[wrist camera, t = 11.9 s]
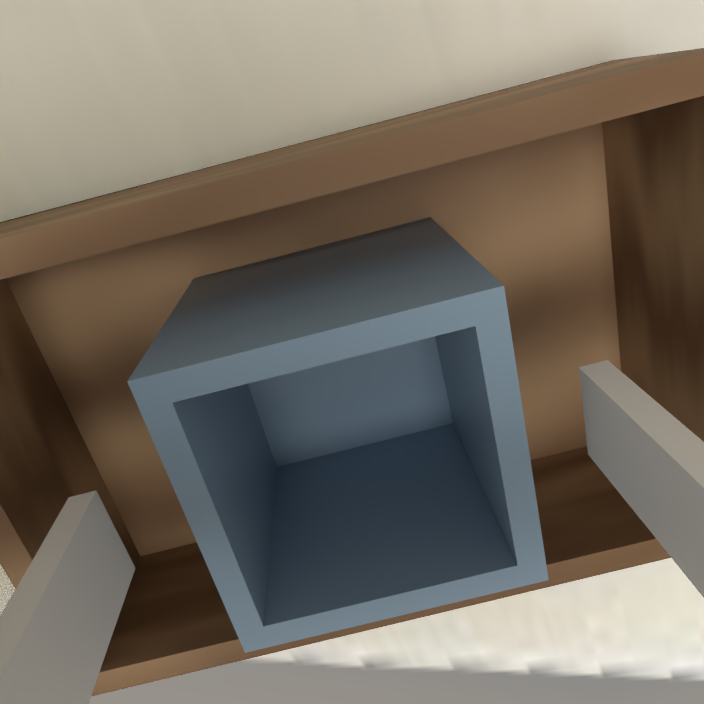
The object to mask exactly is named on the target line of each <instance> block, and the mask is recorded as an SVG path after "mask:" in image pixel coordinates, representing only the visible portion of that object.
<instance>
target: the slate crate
mask: <svg viewBox="0 0 704 704" xmlns="http://www.w3.org/2000/svg"><path fill="white" fill-rule="evenodd" d="M127 382H128V385H129V387H130V389H131V391H132V394H133V396H134V398H135V401H136V403H137V405H138V408H139V410H140V412H141V415H142V417H143V419H144V421H145V424H146V426H147V428H148V431H149V433H150V435H151V438H152V440H153V442H154V444H155V447H156V449H157V451H158V454H159V456H160V458H161V461H162V463H163V465H164V468H165V470H166V472H167V474H168V477H169V479H170V481H171V484H172V486H173V488H174V491H175V493H176V495H177V498H178V500H179V502H180V504H181V507H182V509H183V511H184V514H185V516H186V518H187V521H188V523H189V525H190V527H191V530H192V532H193V534H194V537H195V539H196V541H197V544H198V546H199V548H200V551H201V553H202V555H203V557H204V560H205V562H206V564H207V567H208V569H209V571H210V574H211V576H212V578H213V580H214V583H215V585H216V587H217V590H218V592H219V594H220V597H221V599H222V601H223V604H224V606H225V608H226V610H227V613H228V615H229V617H230V620H231V622H232V624H233V627H234V629H235V631H236V634H237V636H238V638H239V640H240V643H241V645H242V647H243V650H244V652H245V653H247V652H251V651H255V650H259V649H263V648H267V647H272V646H276V645H280V644H284V643H288V642H293V641H297V640H301V639H305V638H309V637H313V636H318V635H322V634H326V633H330V632H334V631H338V630H343V629H347V628H351V627H355V626H359V625H363V624H368V623H372V622H376V621H380V620H384V619H389V618H393V617H397V616H401V615H405V614H409V613H414V612H418V611H422V610H426V609H430V608H434V607H439V606H443V605H447V604H451V603H455V602H459V601H464V600H468V599H472V598H476V597H480V596H485V595H489V594H493V593H497V592H501V591H505V590H510V589H514V588H518V587H522V586H526V585H530V584H535V583H539V582H543V581H547V580H549V579H548V572H547V565H546V559H545V552H544V546H543V539H542V533H541V526H540V519H539V513H538V506H537V500H536V493H535V486H534V480H533V473H532V467H531V460H530V453H529V447H528V440H527V434H526V427H525V421H524V414H523V407H522V401H521V394H520V388H519V381H518V374H517V368H516V361H515V355H514V348H513V342H512V335H511V328H510V322H509V315H508V309H507V302H506V295H505V289H504V285H503V284H502V283H501V282H500V281H498V280H497V279H496V278H495V277H494V276H493V275H492V274H491V273H490V272H489V271H488V270H487V269H486V268H485V267H483V266H482V265H481V264H480V263H479V262H478V261H477V260H476V259H475V258H474V257H473V256H472V255H471V254H470V253H468V252H467V251H466V250H465V249H464V248H463V247H462V246H461V245H460V244H459V243H458V242H457V241H456V240H455V239H453V238H452V237H451V236H450V235H449V234H448V233H447V232H446V231H445V230H444V229H443V228H442V227H441V226H440V225H438V224H437V223H436V222H435V221H434V220H433V219H432V218H431V217H429V218H425V219H421V220H417V221H413V222H410V223H406V224H402V225H398V226H394V227H390V228H386V229H383V230H379V231H375V232H371V233H367V234H363V235H359V236H356V237H352V238H348V239H344V240H340V241H336V242H332V243H329V244H325V245H321V246H317V247H313V248H309V249H305V250H301V251H298V252H294V253H290V254H286V255H282V256H278V257H274V258H271V259H267V260H263V261H259V262H255V263H251V264H247V265H244V266H240V267H236V268H232V269H228V270H224V271H220V272H217V273H213V274H209V275H205V276H201V277H197V278H194V279H193V280H192V282H191V283H190V285H189V286H188V288H187V289H186V291H185V293H184V294H183V296H182V297H181V299H180V300H179V302H178V303H177V305H176V307H175V308H174V310H173V311H172V313H171V314H170V316H169V317H168V319H167V321H166V322H165V324H164V325H163V327H162V328H161V330H160V331H159V333H158V335H157V336H156V338H155V339H154V341H153V342H152V344H151V345H150V347H149V348H148V350H147V352H146V353H145V355H144V356H143V358H142V359H141V361H140V362H139V364H138V366H137V367H136V369H135V370H134V372H133V373H132V375H131V376H130V378H129V380H128V381H127Z"/></svg>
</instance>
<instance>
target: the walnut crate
mask: <svg viewBox="0 0 704 704" xmlns="http://www.w3.org/2000/svg"><path fill="white" fill-rule="evenodd" d="M429 217H431V218H432V219H433V220H434V221H435V222H436V223H437V224H438V225H440V226H441V227H442V228H443V229H444V230H445V231H446V232H447V233H448V234H449V235H450V236H451V237H452V238H453V239H455V240H456V241H457V242H458V243H459V244H460V245H461V246H462V247H463V248H464V249H465V250H466V251H467V252H468V253H470V254H471V255H472V256H473V257H474V258H475V259H476V260H477V261H478V262H479V263H480V264H481V265H482V266H483V267H485V268H486V269H487V270H488V271H489V272H490V273H491V274H492V275H493V276H494V277H495V278H496V279H497V280H498V281H500V282H501V283H502V284H503V285H504V289H505V295H506V302H507V309H508V315H509V322H510V328H511V335H512V342H513V348H514V355H515V361H516V368H517V374H518V381H519V388H520V394H521V401H522V407H523V414H524V421H525V427H526V434H527V440H528V447H529V453H530V460H531V467H532V473H533V480H534V486H535V493H536V500H537V506H538V513H539V519H540V526H541V533H542V539H543V546H544V552H545V559H546V565H547V572H548V579H549V580H547V581H543V582H539V583H535V584H530V585H526V586H522V587H518V588H514V589H510V590H505V591H501V592H497V593H493V594H489V595H485V596H480V597H476V598H472V599H468V600H464V601H459V602H455V603H451V604H447V605H443V606H439V607H434V608H430V609H426V610H422V611H418V612H414V613H409V614H405V615H401V616H397V617H393V618H389V619H384V620H380V621H376V622H372V623H368V624H363V625H359V626H355V627H351V628H347V629H343V630H338V631H334V632H330V633H326V634H322V635H318V636H313V637H309V638H305V639H301V640H297V641H293V642H288V643H284V644H280V645H276V646H272V647H267V648H263V649H259V650H255V651H251V652H247V653H245V652H244V650H243V647H242V645H241V643H240V640H239V638H238V636H237V634H236V631H235V629H234V627H233V624H232V622H231V620H230V617H229V615H228V613H227V610H226V608H225V606H224V604H223V601H222V599H221V597H220V594H219V592H218V590H217V587H216V585H215V583H214V580H213V578H212V576H211V574H210V571H209V569H208V567H207V564H206V562H205V560H204V557H203V555H202V553H201V551H200V548H199V546H198V544H197V541H196V539H195V537H194V534H193V532H192V530H191V527H190V525H189V523H188V521H187V518H186V516H185V514H184V511H183V509H182V507H181V504H180V502H179V500H178V498H177V495H176V493H175V491H174V488H173V486H172V484H171V481H170V479H169V477H168V474H167V472H166V470H165V468H164V465H163V463H162V461H161V458H160V456H159V454H158V451H157V449H156V447H155V444H154V442H153V440H152V438H151V435H150V433H149V431H148V428H147V426H146V424H145V421H144V419H143V417H142V415H141V412H140V410H139V408H138V405H137V403H136V401H135V398H134V396H133V394H132V391H131V389H130V387H129V385H128V382H127V381H128V380H129V378H130V376H131V375H132V373H133V372H134V370H135V369H136V367H137V366H138V364H139V362H140V361H141V359H142V358H143V356H144V355H145V353H146V352H147V350H148V348H149V347H150V345H151V344H152V342H153V341H154V339H155V338H156V336H157V335H158V333H159V331H160V330H161V328H162V327H163V325H164V324H165V322H166V321H167V319H168V317H169V316H170V314H171V313H172V311H173V310H174V308H175V307H176V305H177V303H178V302H179V300H180V299H181V297H182V296H183V294H184V293H185V291H186V289H187V288H188V286H189V285H190V283H191V282H192V280H193V279H194V278H197V277H201V276H205V275H209V274H213V273H217V272H220V271H224V270H228V269H232V268H236V267H240V266H244V265H247V264H251V263H255V262H259V261H263V260H267V259H271V258H274V257H278V256H282V255H286V254H290V253H294V252H298V251H301V250H305V249H309V248H313V247H317V246H321V245H325V244H329V243H332V242H336V241H340V240H344V239H348V238H352V237H356V236H359V235H363V234H367V233H371V232H375V231H379V230H383V229H386V228H390V227H394V226H398V225H402V224H406V223H410V222H413V221H417V220H421V219H425V218H429ZM606 360H608V361H609V362H611V363H612V364H613V365H614V366H615V367H616V368H618V369H619V370H620V371H621V372H622V373H623V374H625V375H626V376H627V377H628V378H629V379H631V380H632V381H633V382H634V383H635V384H636V385H638V386H639V387H640V388H641V389H642V390H643V391H645V392H646V393H647V394H648V395H649V396H650V397H652V398H653V399H654V400H655V401H656V402H658V403H659V404H660V405H661V406H662V407H663V408H665V409H666V410H667V411H668V412H669V413H670V414H672V415H673V416H674V417H675V418H676V419H677V420H679V421H680V422H681V423H682V424H683V425H684V426H686V427H687V428H688V429H689V430H690V431H692V432H693V433H694V434H695V435H696V436H697V437H699V438H700V439H701V440H702V441H703V442H704V48H701V49H694V50H687V51H679V52H672V53H665V54H657V55H650V56H642V57H635V58H628V59H620V60H613V61H609V62H605V63H601V64H598V65H594V66H590V67H586V68H583V69H579V70H575V71H571V72H567V73H564V74H560V75H556V76H552V77H549V78H545V79H541V80H537V81H533V82H530V83H526V84H522V85H518V86H514V87H511V88H507V89H503V90H499V91H496V92H492V93H488V94H484V95H480V96H477V97H473V98H469V99H465V100H462V101H458V102H454V103H450V104H446V105H443V106H439V107H435V108H431V109H427V110H424V111H420V112H416V113H412V114H409V115H405V116H401V117H397V118H393V119H390V120H386V121H382V122H378V123H375V124H371V125H367V126H363V127H359V128H356V129H352V130H348V131H344V132H340V133H337V134H333V135H329V136H325V137H322V138H318V139H314V140H310V141H306V142H303V143H299V144H295V145H291V146H288V147H284V148H280V149H276V150H272V151H269V152H265V153H261V154H257V155H254V156H250V157H246V158H242V159H238V160H235V161H231V162H227V163H223V164H219V165H216V166H212V167H208V168H204V169H201V170H197V171H193V172H189V173H185V174H182V175H178V176H174V177H170V178H167V179H163V180H159V181H155V182H151V183H148V184H144V185H140V186H136V187H132V188H129V189H125V190H121V191H117V192H114V193H110V194H106V195H102V196H98V197H95V198H91V199H87V200H83V201H80V202H76V203H72V204H68V205H64V206H61V207H57V208H53V209H49V210H45V211H42V212H38V213H34V214H30V215H27V216H23V217H19V218H15V219H11V220H8V221H4V222H0V564H1V565H2V567H3V569H4V570H5V572H6V574H7V575H8V577H9V579H10V580H11V582H12V584H13V585H14V587H15V589H16V588H17V586H18V585H19V583H20V581H21V579H22V578H23V576H24V574H25V572H26V571H27V569H28V567H29V565H30V564H31V562H32V560H33V559H34V557H35V555H36V553H37V552H38V550H39V548H40V546H41V545H42V543H43V541H44V539H45V538H46V536H47V534H48V532H49V531H50V529H51V527H52V525H53V524H54V522H55V520H56V519H57V517H58V515H59V513H60V512H61V510H62V508H63V506H64V505H65V503H66V501H67V499H68V498H69V497H72V496H76V495H80V494H84V493H88V492H92V491H97V493H98V495H99V497H100V499H101V501H102V503H103V505H104V507H105V509H106V511H107V513H108V515H109V517H110V519H111V521H112V523H113V525H114V527H115V529H116V531H117V532H118V534H119V536H120V538H121V540H122V542H123V544H124V546H125V548H126V550H127V552H128V554H129V556H130V558H131V560H132V562H133V564H134V566H135V571H134V574H133V577H132V580H131V582H130V585H129V588H128V591H127V594H126V597H125V600H124V603H123V606H122V608H121V611H120V614H119V617H118V620H117V623H116V626H115V629H114V631H113V634H112V637H111V640H110V643H109V646H108V649H107V652H106V655H105V657H104V660H103V663H102V666H101V669H100V672H99V675H98V678H97V680H96V683H95V686H94V689H93V692H92V695H91V696H94V695H98V694H102V693H107V692H111V691H115V690H119V689H124V688H127V687H132V686H136V685H140V684H144V683H149V682H153V681H157V680H161V679H166V678H170V677H174V676H178V675H182V674H186V673H190V672H194V671H199V670H203V669H207V668H211V667H216V666H219V665H223V664H228V663H232V662H237V661H241V660H245V659H249V658H253V657H257V656H262V655H266V654H270V653H274V652H278V651H282V650H287V649H291V648H295V647H299V646H303V645H308V644H312V643H316V642H320V641H324V640H328V639H333V638H337V637H341V636H345V635H349V634H354V633H358V632H362V631H366V630H370V629H374V628H379V627H383V626H387V625H391V624H395V623H399V622H404V621H408V620H412V619H416V618H420V617H425V616H429V615H433V614H437V613H441V612H445V611H450V610H454V609H458V608H462V607H466V606H470V605H475V604H479V603H483V602H487V601H491V600H496V599H500V598H504V597H508V596H512V595H516V594H521V593H525V592H529V591H533V590H537V589H542V588H546V587H550V586H554V585H558V584H562V583H567V582H571V581H575V580H579V579H583V578H587V577H592V576H596V575H600V574H604V573H608V572H613V571H617V570H621V569H625V568H629V567H633V566H638V565H642V564H646V563H650V562H654V561H658V560H663V559H667V558H671V556H670V555H669V554H668V553H667V551H666V550H665V549H664V548H663V546H662V545H661V544H660V543H659V541H658V540H657V539H656V538H655V537H654V535H653V534H652V533H651V532H650V530H649V529H648V528H647V527H646V525H645V524H644V523H643V522H642V520H641V519H640V518H639V517H638V515H637V514H636V513H635V512H634V511H633V509H632V508H631V507H630V506H629V504H628V503H627V502H626V501H625V499H624V498H623V497H622V496H621V494H620V493H619V492H618V491H617V490H616V488H615V487H614V486H613V485H612V483H611V482H610V481H609V480H608V478H607V477H606V476H605V475H604V473H603V472H602V471H601V470H600V468H599V467H598V466H597V465H596V464H595V462H594V461H593V460H592V459H591V457H590V456H589V455H588V450H587V440H586V431H585V421H584V411H583V402H582V392H581V382H580V372H579V367H582V366H586V365H590V364H594V363H598V362H602V361H606Z"/></svg>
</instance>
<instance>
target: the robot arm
mask: <svg viewBox="0 0 704 704" xmlns="http://www.w3.org/2000/svg"><path fill="white" fill-rule="evenodd" d="M579 372H580V382H581V392H582V402H583V411H584V421H585V431H586V440H587V450H588V455H589V456H590V457H591V459H592V460H593V461H594V462H595V464H596V465H597V466H598V467H599V468H600V470H601V471H602V472H603V473H604V475H605V476H606V477H607V478H608V480H609V481H610V482H611V483H612V485H613V486H614V487H615V488H616V490H617V491H618V492H619V493H620V494H621V496H622V497H623V498H624V499H625V501H626V502H627V503H628V504H629V506H630V507H631V508H632V509H633V511H634V512H635V513H636V514H637V515H638V517H639V518H640V519H641V520H642V522H643V523H644V524H645V525H646V527H647V528H648V529H649V530H650V532H651V533H652V534H653V535H654V537H655V538H656V539H657V540H658V541H659V543H660V544H661V545H662V546H663V548H664V549H665V550H666V551H667V553H668V554H669V555H670V556H671V558H672V559H673V560H674V561H675V562H676V564H677V565H678V566H679V567H680V569H681V570H682V571H683V572H684V574H685V575H686V576H687V577H688V579H689V580H690V581H691V582H692V584H693V585H694V586H695V587H696V588H697V590H698V591H699V592H700V593H701V595H702V596H703V597H704V442H703V441H702V440H701V439H700V438H699V437H697V436H696V435H695V434H694V433H693V432H692V431H690V430H689V429H688V428H687V427H686V426H684V425H683V424H682V423H681V422H680V421H679V420H677V419H676V418H675V417H674V416H673V415H672V414H670V413H669V412H668V411H667V410H666V409H665V408H663V407H662V406H661V405H660V404H659V403H658V402H656V401H655V400H654V399H653V398H652V397H650V396H649V395H648V394H647V393H646V392H645V391H643V390H642V389H641V388H640V387H639V386H638V385H636V384H635V383H634V382H633V381H632V380H631V379H629V378H628V377H627V376H626V375H625V374H623V373H622V372H621V371H620V370H619V369H618V368H616V367H615V366H614V365H613V364H612V363H611V362H609V361H608V360H606V361H602V362H598V363H594V364H590V365H586V366H582V367H579ZM134 571H135V566H134V564H133V562H132V560H131V558H130V556H129V554H128V552H127V550H126V548H125V546H124V544H123V542H122V540H121V538H120V536H119V534H118V532H117V531H116V529H115V527H114V525H113V523H112V521H111V519H110V517H109V515H108V513H107V511H106V509H105V507H104V505H103V503H102V501H101V499H100V497H99V495H98V493H97V491H92V492H88V493H84V494H80V495H76V496H72V497H69V498H68V499H67V501H66V503H65V505H64V506H63V508H62V510H61V512H60V513H59V515H58V517H57V519H56V520H55V522H54V524H53V525H52V527H51V529H50V531H49V532H48V534H47V536H46V538H45V539H44V541H43V543H42V545H41V546H40V548H39V550H38V552H37V553H36V555H35V557H34V559H33V560H32V562H31V564H30V565H29V567H28V569H27V571H26V572H25V574H24V576H23V578H22V579H21V581H20V583H19V585H18V586H17V588H16V590H15V592H14V593H13V595H12V597H11V599H10V600H9V602H8V604H7V605H6V607H5V609H4V611H3V612H2V614H1V616H0V704H88V703H89V700H90V698H91V695H92V692H93V689H94V686H95V683H96V680H97V678H98V675H99V672H100V669H101V666H102V663H103V660H104V657H105V655H106V652H107V649H108V646H109V643H110V640H111V637H112V634H113V631H114V629H115V626H116V623H117V620H118V617H119V614H120V611H121V608H122V606H123V603H124V600H125V597H126V594H127V591H128V588H129V585H130V582H131V580H132V577H133V574H134Z"/></svg>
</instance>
